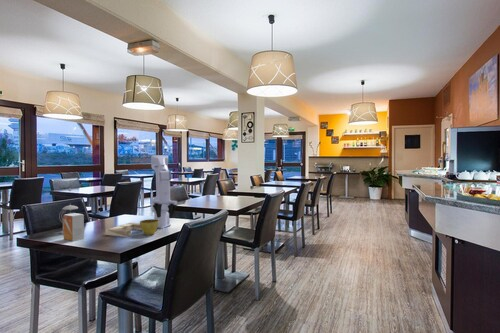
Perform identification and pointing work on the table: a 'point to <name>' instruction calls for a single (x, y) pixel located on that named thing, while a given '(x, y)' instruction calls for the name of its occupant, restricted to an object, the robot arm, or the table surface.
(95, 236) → the table surface
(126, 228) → the beige crumpled cloth
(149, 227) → the flower pot
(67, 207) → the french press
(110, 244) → the table surface
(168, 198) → the robot arm
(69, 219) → the small box
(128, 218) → the table surface
